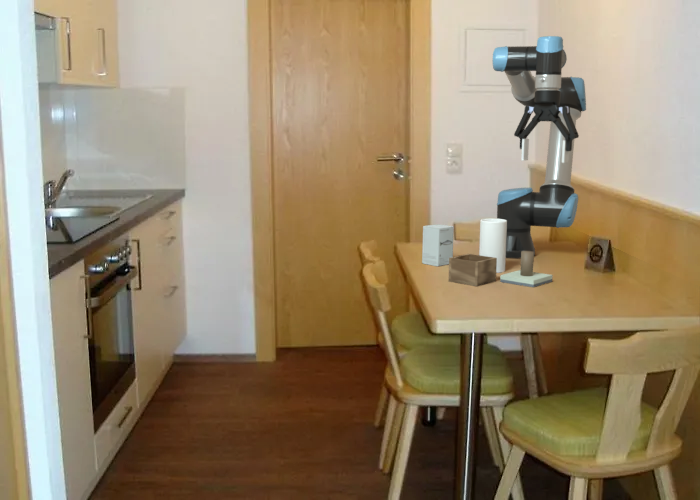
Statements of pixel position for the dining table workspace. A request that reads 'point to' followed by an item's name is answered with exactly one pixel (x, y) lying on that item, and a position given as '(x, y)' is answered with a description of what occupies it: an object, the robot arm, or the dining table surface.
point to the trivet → (525, 283)
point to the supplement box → (437, 244)
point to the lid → (526, 271)
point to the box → (472, 269)
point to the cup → (493, 240)
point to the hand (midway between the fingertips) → (544, 161)
